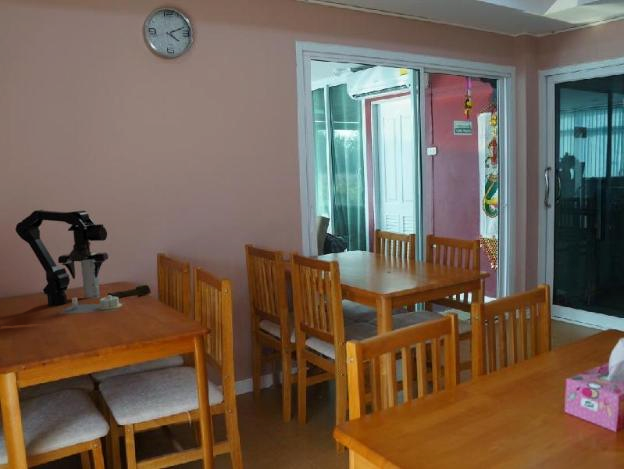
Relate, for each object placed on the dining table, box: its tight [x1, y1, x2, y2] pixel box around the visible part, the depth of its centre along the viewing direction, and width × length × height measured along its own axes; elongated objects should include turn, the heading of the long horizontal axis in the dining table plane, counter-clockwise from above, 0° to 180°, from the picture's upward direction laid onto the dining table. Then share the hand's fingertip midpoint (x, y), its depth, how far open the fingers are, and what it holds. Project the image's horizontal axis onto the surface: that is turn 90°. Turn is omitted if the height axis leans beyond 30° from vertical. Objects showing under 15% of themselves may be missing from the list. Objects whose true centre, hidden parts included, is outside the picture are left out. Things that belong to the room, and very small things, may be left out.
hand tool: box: [107, 284, 151, 299], centre depth 251 cm, size 19×4×5 cm, turn 128°
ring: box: [99, 296, 120, 308], centre depth 230 cm, size 7×7×3 cm
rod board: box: [58, 294, 125, 315], centre depth 230 cm, size 22×14×6 cm, turn 91°
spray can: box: [80, 252, 100, 299], centre depth 253 cm, size 6×6×20 cm
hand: (85, 278), depth 237 cm, fingers open, 9 cm apart
